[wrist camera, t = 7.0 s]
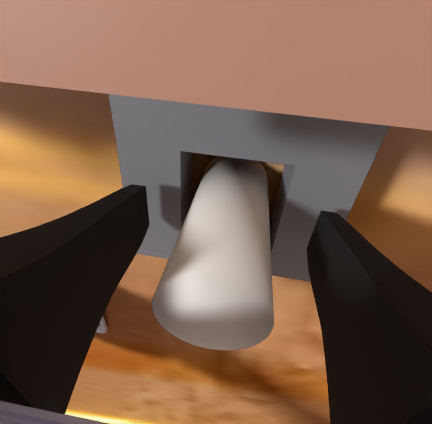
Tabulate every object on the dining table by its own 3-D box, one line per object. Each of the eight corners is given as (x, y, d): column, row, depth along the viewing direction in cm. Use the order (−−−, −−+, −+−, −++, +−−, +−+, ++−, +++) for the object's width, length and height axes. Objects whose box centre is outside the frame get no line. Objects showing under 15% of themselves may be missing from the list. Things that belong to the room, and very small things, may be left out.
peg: (276, 160, 13) (292, 295, 6) (257, 214, 15) (254, 359, 8) (209, 144, 13) (154, 262, 6) (199, 200, 15) (150, 334, 8)
